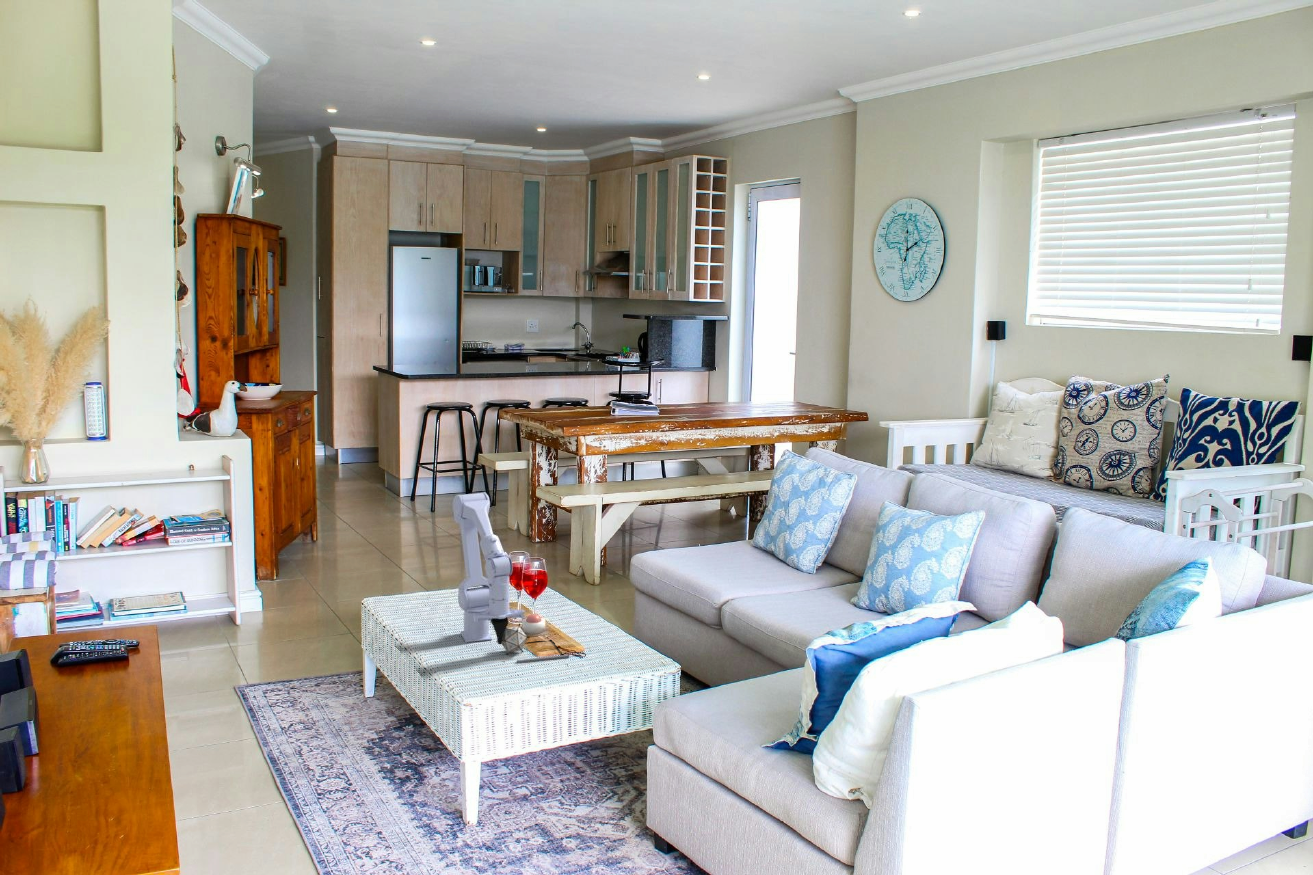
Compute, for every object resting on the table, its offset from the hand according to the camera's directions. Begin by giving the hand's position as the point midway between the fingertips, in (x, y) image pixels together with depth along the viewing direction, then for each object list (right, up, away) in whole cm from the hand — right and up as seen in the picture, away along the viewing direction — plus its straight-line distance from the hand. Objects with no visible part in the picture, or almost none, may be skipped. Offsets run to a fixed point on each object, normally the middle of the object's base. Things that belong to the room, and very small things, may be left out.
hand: (499, 643), depth 302 cm
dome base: (+8, -1, +18) cm, 20 cm away
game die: (+4, -3, +3) cm, 6 cm away
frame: (+10, -3, +4) cm, 11 cm away
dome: (+8, 0, +18) cm, 20 cm away
